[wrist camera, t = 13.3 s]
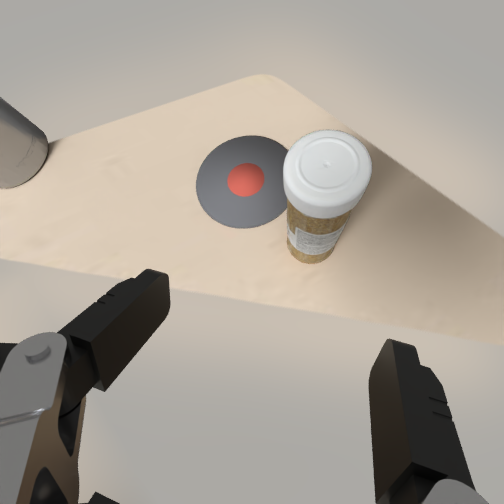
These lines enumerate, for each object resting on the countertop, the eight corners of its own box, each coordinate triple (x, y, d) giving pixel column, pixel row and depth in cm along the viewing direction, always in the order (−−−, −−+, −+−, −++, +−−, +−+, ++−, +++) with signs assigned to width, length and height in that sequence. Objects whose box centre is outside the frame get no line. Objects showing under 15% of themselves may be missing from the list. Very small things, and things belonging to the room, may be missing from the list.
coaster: (182, 215, 30) (181, 214, 30) (214, 129, 32) (214, 128, 32) (282, 239, 28) (282, 238, 27) (309, 145, 30) (309, 144, 30)
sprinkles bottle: (293, 216, 28) (294, 119, 15) (339, 226, 27) (381, 132, 14) (281, 259, 27) (272, 194, 14) (329, 270, 26) (365, 212, 13)
